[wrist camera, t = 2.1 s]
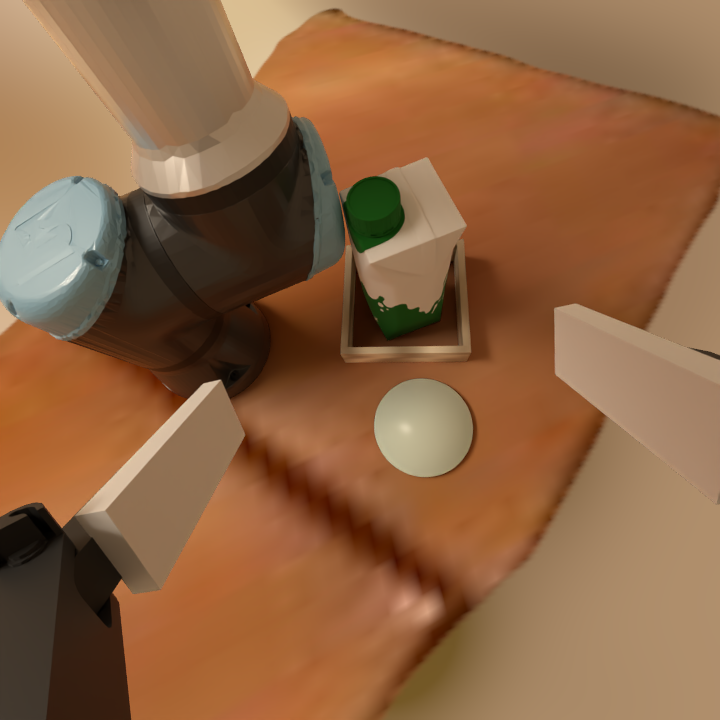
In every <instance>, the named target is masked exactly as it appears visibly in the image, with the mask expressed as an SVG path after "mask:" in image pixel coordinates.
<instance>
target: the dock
mask: <svg viewBox="0 0 720 720" xmlns="http://www.w3.org/2000/svg"><path fill="white" fill-rule="evenodd" d="M451 261H454V276H455V294H456V313H457V331H458V346H404V347H353V327H354V303H355V279H356V263H355V259H354V255H353V251H352V247H351V245H348V246H346V256H345V275H344V294H343V313H342V332H341V350H340V354H341V356H342V357H343V359H344V361H345V362H346V363H354V362H466V361H467V359H468V357H469V356H470V354H471V341H470V326H469V311H468V296H467V280H466V265H465V250H464V239H459V240H458V242H457V243H456V245H455V247H454V248H453V252H452V256H451Z"/></svg>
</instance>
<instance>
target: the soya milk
mask: <svg viewBox="0 0 720 720" xmlns="http://www.w3.org/2000/svg"><path fill="white" fill-rule="evenodd" d="M339 195H340V199H341V203H342V207H343V212H344V216H345V220H346V225H347V229H348V234H349V238H350V243H351V247H352V251H353V255H354V259H355V263H356V267H357V270H358V274H359V278H360V282H361V285H362V289H363V293H364V296H365V298H366V300H367V303H368V305H369V307H370V310H371V312H372V314H373V316H374V318H375V320H376V321H377V323H378V325H379V327H380V328H381V330H382V332H383V334H384V335H385V337H386V339H387V341H388V340H391V339H394V338H396V337H399V336H401V335H404V334H407V333H409V332H412V331H414V330H417V329H420V328H422V327H425V326H427V325H430V324H432V323H435V322H438V321H440V319H441V312H442V305H443V298H444V291H445V285H446V280H447V276H448V271H449V266H450V261H451V256H452V252H453V248H454V247H455V245H456V243H457V242H458V240H459V238H460V236H461V235H462V233H463V231H464V230H465V228H466V226H467V225H466V224H465V222H464V220H463V218H462V217H461V215H460V213H459V211H458V210H457V208H456V206H455V204H454V203H453V201H452V199H451V197H450V196H449V194H448V192H447V190H446V189H445V187H444V185H443V184H442V182H441V180H440V178H439V177H438V175H437V173H436V171H435V170H434V168H433V166H432V164H431V163H430V161H429V159H428V158H427V157H426V158H424V159H421V160H419V161H416V162H414V163H411V164H409V165H406V166H404V167H401V168H399V167H396V168H393V169H391V170H388V171H386V172H385V173H383V174H381V175H378V176H373V177H367V178H364V179H362V180H360V181H358V182H357V183H356V184H354V185H353V186H351V187H349V188H347V189H344V190H342V191H340V193H339Z"/></svg>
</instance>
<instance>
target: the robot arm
mask: <svg viewBox="0 0 720 720" xmlns="http://www.w3.org/2000/svg"><path fill="white" fill-rule="evenodd" d="M22 1H23V2H24V3H25V5H26V6H27V7H28V8H29V10H30V11H31V12H32V14H33V15H34V16H35V17H36V19H37V20H38V21H39V22H40V24H41V25H42V26H43V28H44V29H45V30H46V31H47V33H48V34H49V35H50V37H51V38H52V39H53V40H54V41H55V43H56V44H57V45H58V47H59V48H60V49H61V51H62V52H63V53H64V54H65V56H66V57H67V58H68V59H69V60H70V62H71V63H72V64H73V66H74V67H75V68H76V70H77V71H78V72H79V73H80V75H81V76H82V77H83V79H84V80H85V81H86V82H87V84H88V85H89V86H90V87H91V89H92V90H93V91H94V93H95V94H96V95H97V96H98V98H99V99H100V100H101V101H102V102H103V104H104V105H105V107H106V108H107V109H108V110H109V112H110V113H111V114H112V115H113V117H114V118H115V119H116V120H117V122H118V123H119V124H120V125H121V127H122V128H123V129H124V131H125V132H126V133H127V135H128V136H129V137H130V138H131V140H132V158H131V159H132V160H131V172H132V177H133V178H134V180H135V181H136V183H137V184H138V186H139V187H140V188H139V189H137V190H135V191H132V192H130V193H128V194H125V195H123V196H118V194H117V193H116V192H115V191H114V190H113V189H112V188H111V187H109V186H108V185H106V184H102V183H101V182H99V181H97V180H96V179H93V178H88V177H86V178H83V177H81V176H72V177H67V178H63V179H60V180H58V181H55V182H53V183H51V184H49V185H48V186H46V187H44V188H43V189H41V190H40V191H39V192H38V193H36V194H35V195H34V196H33V197H31V198H30V199H29V200H28V201H27V202H26V203H25V204H24V206H22V207H21V209H20V210H19V211H18V212H17V214H16V215H15V216H14V218H13V219H12V221H11V222H10V224H9V226H8V228H7V230H6V231H5V233H4V235H3V237H2V239H1V241H0V300H1V302H2V304H3V305H4V307H5V308H6V309H7V310H8V311H9V312H10V313H11V314H12V315H14V316H15V317H16V318H18V319H19V320H21V321H23V322H25V323H27V324H30V325H32V326H34V327H37V328H39V329H41V330H44V331H46V332H48V333H50V335H52V336H54V337H55V338H56V339H59V340H63V341H68V342H71V343H74V344H77V345H80V346H83V347H86V348H89V349H91V350H94V351H97V352H100V353H103V354H106V355H109V356H112V357H115V358H118V359H121V360H124V361H126V362H129V363H132V364H135V365H138V366H141V367H144V368H147V369H149V370H150V371H151V372H152V373H153V374H154V375H155V376H156V377H157V378H158V379H159V380H160V381H161V382H162V383H163V384H164V385H165V386H166V387H167V388H168V389H169V390H171V391H172V392H174V393H175V394H177V395H179V396H181V397H184V398H187V399H188V400H187V401H186V402H185V403H184V404H183V405H182V406H181V407H180V408H179V409H178V410H177V411H176V412H175V413H174V414H173V415H172V416H171V417H170V418H169V419H168V420H167V421H166V422H165V423H164V425H163V426H162V427H161V428H160V429H159V430H158V431H157V432H156V433H155V434H154V435H153V436H152V437H151V438H150V439H149V440H148V441H147V442H146V443H145V444H144V445H143V446H142V447H141V448H140V449H139V450H138V451H137V452H136V453H135V454H134V455H133V456H132V457H131V458H130V459H129V460H128V462H127V463H126V464H125V465H124V466H123V467H121V468H120V469H119V470H118V471H117V472H116V473H115V474H114V475H113V476H112V478H111V479H110V480H109V481H108V482H107V483H106V484H105V485H104V486H103V487H102V488H101V489H100V490H99V491H98V492H97V493H96V494H95V495H94V496H93V497H92V498H91V499H90V500H89V501H88V502H87V503H86V504H85V505H84V506H83V507H82V508H81V509H80V510H79V511H78V512H77V513H76V514H75V515H74V517H73V518H72V519H71V520H70V521H69V522H68V523H67V524H66V525H65V526H64V527H63V528H61V527H60V526H59V524H58V523H57V522H56V520H55V519H54V518H53V517H52V515H51V514H50V513H49V512H48V510H47V509H46V508H45V506H44V505H43V504H42V503H31V504H28V505H24V506H22V507H19V508H17V509H15V510H12V511H10V512H9V513H7V514H5V515H3V516H1V517H0V720H131V714H130V704H129V694H128V685H127V675H126V665H125V656H124V646H123V636H122V627H121V617H120V607H119V602H118V600H117V598H116V597H115V596H114V594H113V593H112V592H113V591H114V589H115V588H116V586H117V585H118V583H119V582H120V580H121V579H122V580H123V581H124V583H125V584H126V585H127V587H128V588H129V589H130V591H131V592H132V593H133V594H137V593H144V592H150V591H157V590H161V588H162V586H163V585H164V583H165V581H166V579H167V577H168V575H169V574H170V572H171V570H172V568H173V566H174V564H175V563H176V561H177V559H178V557H179V555H180V553H181V552H182V550H183V548H184V546H185V544H186V542H187V541H188V539H189V537H190V535H191V533H192V532H193V530H194V528H195V526H196V524H197V522H198V521H199V519H200V517H201V515H202V513H203V511H204V510H205V508H206V506H207V504H208V502H209V500H210V499H211V497H212V495H213V493H214V491H215V489H216V488H217V486H218V484H219V482H220V480H221V478H222V477H223V475H224V473H225V471H226V469H227V468H228V466H229V464H230V462H231V460H232V458H233V457H234V455H235V453H236V451H237V449H238V447H239V446H240V444H241V442H242V440H243V438H244V436H245V433H244V431H243V429H242V426H241V424H240V422H239V420H238V417H237V415H236V413H235V410H234V408H233V406H232V404H231V401H230V399H229V398H231V397H233V396H235V395H237V394H238V393H240V392H241V391H243V390H244V389H246V388H247V387H248V386H249V385H250V384H251V383H252V382H253V381H254V380H255V379H256V378H257V376H258V375H259V373H260V372H261V370H262V369H263V367H264V365H265V363H266V360H267V357H268V354H269V349H270V330H269V326H268V323H267V321H266V319H265V317H264V315H263V314H262V312H261V311H260V310H259V309H258V308H257V307H256V306H255V305H254V304H253V303H252V302H254V301H257V300H259V299H261V298H264V297H266V296H269V295H271V294H273V293H276V292H278V291H281V290H283V289H285V288H288V287H290V286H293V285H295V284H297V283H300V282H302V281H307V280H309V279H311V278H312V277H313V276H314V275H315V274H317V273H319V272H321V271H323V270H325V269H327V268H329V267H331V266H333V265H334V264H336V263H337V262H338V261H339V260H340V258H341V257H342V255H343V252H344V248H345V229H344V221H343V215H342V210H341V205H340V200H339V196H338V192H337V188H336V185H335V183H334V181H333V180H332V173H331V168H330V164H329V160H328V157H327V154H326V151H325V148H324V146H323V143H322V141H321V138H320V136H319V134H318V132H317V130H316V129H315V127H314V125H313V124H312V122H311V121H310V120H309V119H307V118H304V117H301V118H298V117H296V116H295V117H294V118H293V117H291V114H290V111H289V108H288V106H287V103H286V101H285V100H284V98H283V97H282V96H281V95H280V94H279V93H277V92H276V91H274V90H272V89H270V88H268V87H266V86H264V85H263V84H261V83H259V82H257V81H255V80H254V79H253V78H252V76H251V74H250V71H249V69H248V67H247V64H246V62H245V59H244V57H243V54H242V52H241V49H240V47H239V45H238V42H237V40H236V37H235V35H234V32H233V30H232V28H231V25H230V23H229V20H228V18H227V15H226V13H225V10H224V8H223V6H222V3H221V1H220V0H22ZM554 326H555V375H557V376H558V377H559V378H560V379H562V380H563V381H564V382H565V383H567V384H568V385H569V386H570V387H571V388H573V389H574V390H575V391H576V392H578V393H579V394H580V395H581V396H583V397H584V398H585V399H586V400H588V401H589V402H590V403H591V404H593V405H594V406H595V407H596V408H598V409H599V410H600V411H601V412H602V413H604V414H605V415H606V416H607V417H609V418H610V419H611V420H612V421H614V422H615V423H616V424H617V425H619V426H620V427H621V428H622V429H624V430H625V431H626V432H627V433H628V434H630V435H631V436H632V437H633V438H635V439H636V440H637V441H639V442H640V443H641V444H642V445H643V446H645V447H646V448H647V449H648V450H650V451H651V452H652V453H653V454H655V455H656V456H657V457H658V458H659V459H661V460H662V461H663V462H664V463H666V464H667V465H668V466H669V467H671V468H672V469H673V470H674V471H676V472H677V473H678V474H679V475H680V476H682V477H683V478H684V479H685V480H687V481H688V482H689V483H690V484H692V485H693V486H694V487H695V488H697V489H698V490H699V491H700V492H702V493H703V494H704V495H705V496H707V497H708V498H709V499H710V500H711V501H713V502H714V503H715V504H720V355H717V354H715V353H712V352H708V351H703V350H698V349H693V348H688V347H685V346H682V345H680V344H677V343H675V342H672V341H670V340H667V339H665V338H662V337H659V336H657V335H654V334H652V333H649V332H647V331H644V330H642V329H639V328H637V327H634V326H632V325H629V324H627V323H624V322H622V321H619V320H616V319H614V318H611V317H609V316H606V315H604V314H601V313H599V312H596V311H594V310H591V309H589V308H586V307H584V306H581V305H579V304H576V303H575V304H571V305H566V306H561V307H557V308H554Z"/></svg>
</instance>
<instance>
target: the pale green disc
mask: <svg viewBox="0 0 720 720" xmlns="http://www.w3.org/2000/svg"><path fill="white" fill-rule="evenodd" d="M374 432H375V437H376V441H377V444H378V446H379V448H380V450H381V452H382V453H383V455H384V456H385V458H386V459H387V460H388V461H389V462H390V463H391V464H392V465H393V466H395V467H396V468H397V469H399V470H401V471H403V472H405V473H407V474H410V475H413V476H418V477H432V476H438V475H441V474H444V473H446V472H448V471H450V470H451V469H453V468H454V467H456V466H457V465H458V464H459V463H460V462H461V461H462V460H463V458H464V457H465V455H466V454H467V452H468V450H469V448H470V445H471V441H472V436H473V423H472V418H471V414H470V412H469V409H468V407H467V405H466V403H465V402H464V400H463V399H462V398H461V396H460V395H459V394H458V393H457V392H456V391H454V390H453V389H452V388H450V387H449V386H447V385H446V384H443V383H441V382H439V381H436V380H431V379H423V378H420V379H412V380H408V381H405V382H402V383H400V384H398V385H396V386H395V387H393V388H392V389H391V390H390V391H389V392H388V393H387V394H386V395H385V396H384V397H383V399H382V400H381V402H380V404H379V406H378V408H377V411H376V415H375V420H374Z"/></svg>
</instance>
